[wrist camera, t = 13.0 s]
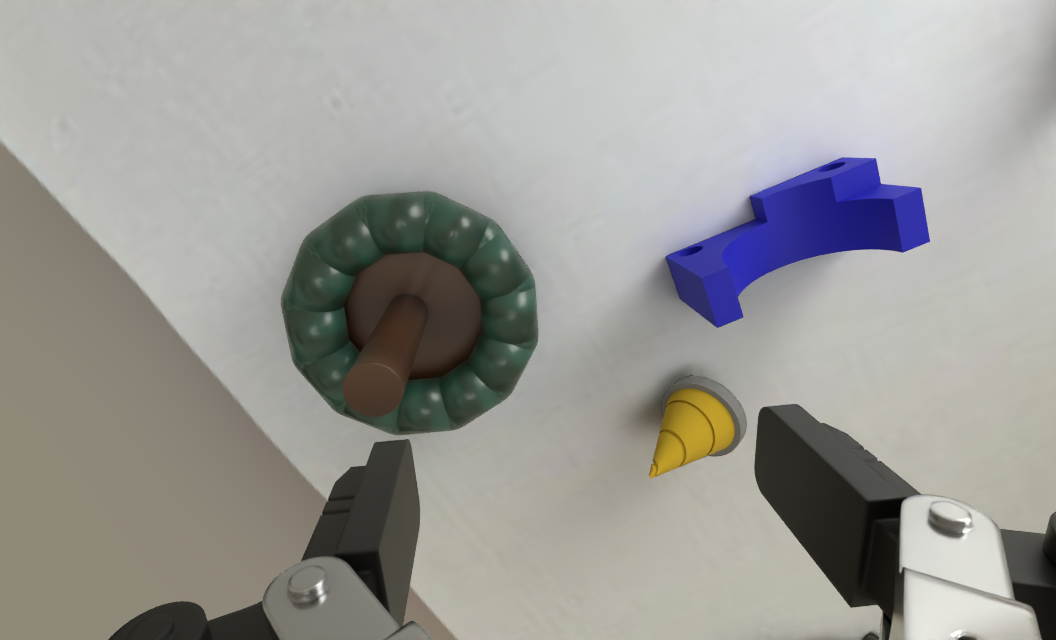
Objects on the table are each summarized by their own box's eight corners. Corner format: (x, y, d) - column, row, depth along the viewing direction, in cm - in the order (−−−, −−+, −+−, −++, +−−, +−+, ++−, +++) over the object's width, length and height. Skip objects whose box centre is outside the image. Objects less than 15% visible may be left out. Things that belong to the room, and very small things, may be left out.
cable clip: (842, 157, 34) (916, 159, 28) (857, 226, 35) (930, 241, 29) (658, 234, 34) (693, 251, 28) (679, 298, 36) (717, 327, 30)
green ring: (273, 200, 30) (250, 205, 27) (526, 182, 31) (531, 186, 28) (318, 427, 35) (302, 454, 32) (540, 407, 35) (546, 431, 32)
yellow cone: (723, 436, 39) (652, 526, 33) (673, 377, 40) (594, 454, 34) (781, 407, 35) (714, 503, 29) (724, 342, 36) (647, 422, 30)
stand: (324, 240, 33) (233, 292, 21) (476, 228, 33) (473, 272, 21) (349, 379, 35) (282, 497, 24) (489, 366, 36) (493, 475, 24)
